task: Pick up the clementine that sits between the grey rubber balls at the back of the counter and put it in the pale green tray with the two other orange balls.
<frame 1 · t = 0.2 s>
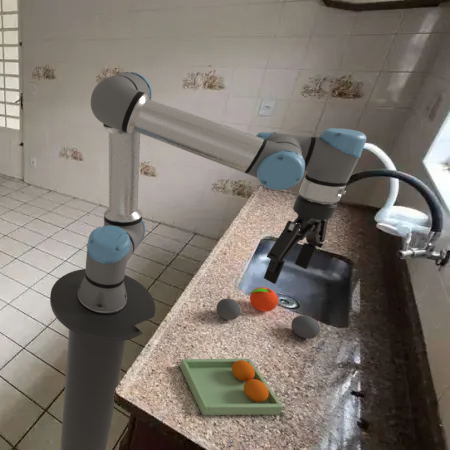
hand: (285, 273, 90), 17 cm above the worktop, tool pointing down, fingers open, 13 cm apart
orange ball A: (243, 370, 82), point 3 cm above the worktop, touching tray
grey ball A: (228, 309, 100), point 3 cm above the worktop
tray: (226, 388, 81), on the worktop
clementine: (257, 308, 104), on the worktop
orange ball B: (256, 390, 77), point 3 cm above the worktop, touching tray
grey ball B: (305, 326, 93), point 3 cm above the worktop
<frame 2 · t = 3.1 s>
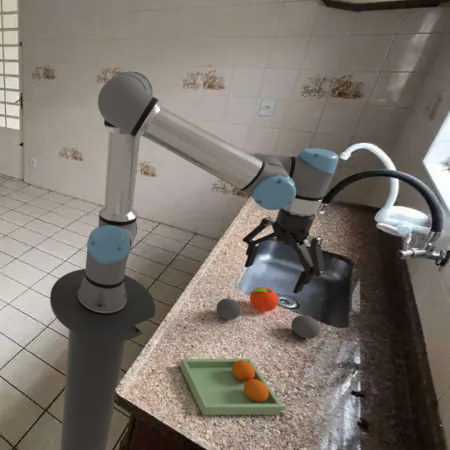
hand: (271, 278, 99), 11 cm above the worktop, tool pointing down, fingers open, 13 cm apart
nothing on the worktop moved.
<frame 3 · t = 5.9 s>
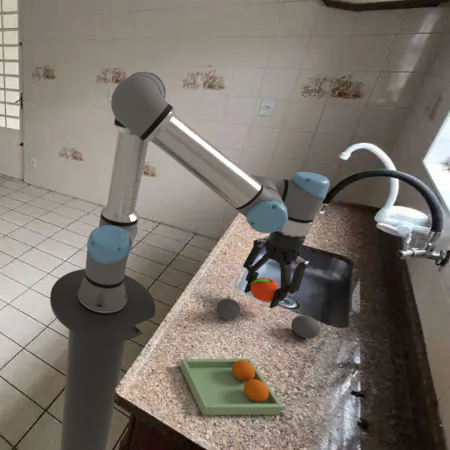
hand: (260, 298, 103), 4 cm above the worktop, tool pointing down, fingers closed on clementine, 7 cm apart
clementine: (258, 299, 103), point 3 cm above the worktop, touching gripper
everything else where it was.
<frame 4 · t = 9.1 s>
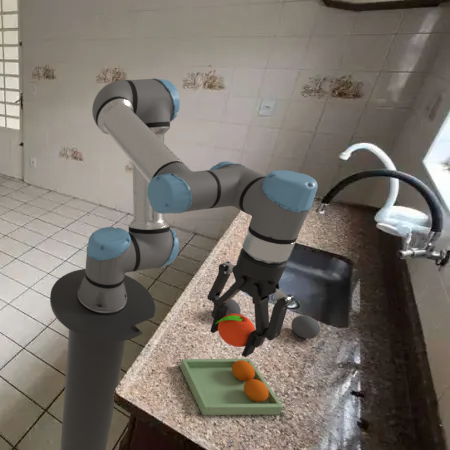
hand: (230, 341, 76), 13 cm above the worktop, tool pointing down, fingers closed on clementine, 7 cm apart
clementine: (228, 341, 77), point 12 cm above the worktop, touching gripper
everything else where it was.
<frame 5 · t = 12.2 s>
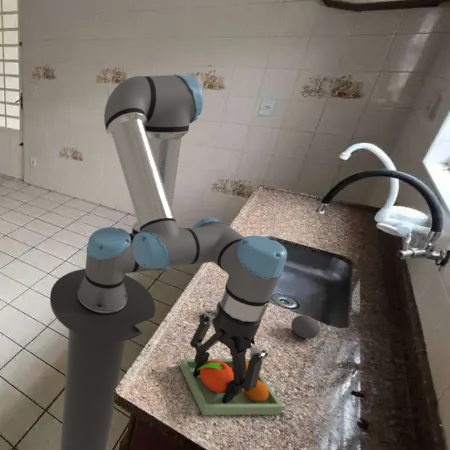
hand: (212, 386, 80), 1 cm above the worktop, tool pointing down, fingers closed on clementine, 7 cm apart
clementine: (210, 386, 81), resting on tray, touching gripper
everything else where it was.
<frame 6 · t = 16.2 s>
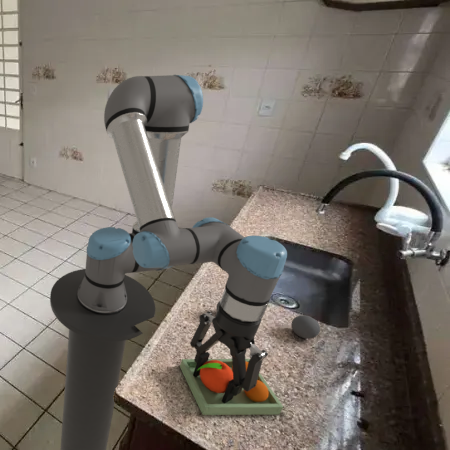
hand: (212, 386, 80), 1 cm above the worktop, tool pointing down, fingers closed on clementine, 7 cm apart
clementine: (210, 386, 81), resting on tray, touching gripper
everything else where it was.
when the fingers open (2 cm above the worktop, at t = 19.6 s): clementine drops 1 cm, resting on tray.
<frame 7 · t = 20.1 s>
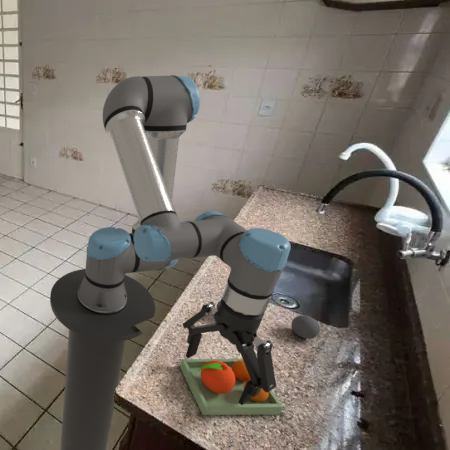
hand: (215, 376, 79), 4 cm above the worktop, tool pointing down, fingers open, 13 cm apart
clementine: (211, 387, 81), resting on tray
everything else where it was.
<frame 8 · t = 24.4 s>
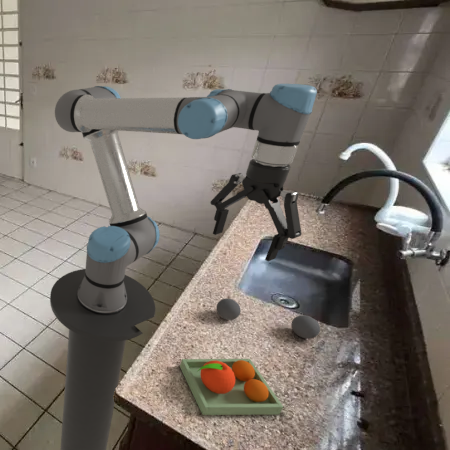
hand: (242, 245, 85), 27 cm above the worktop, tool pointing down, fingers open, 13 cm apart
nothing on the worktop moved.
at the end: clementine inside the target area in the tray (3.5 cm from its centre), point 0.4 cm above the tray's base; the gripper is holding nothing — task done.
